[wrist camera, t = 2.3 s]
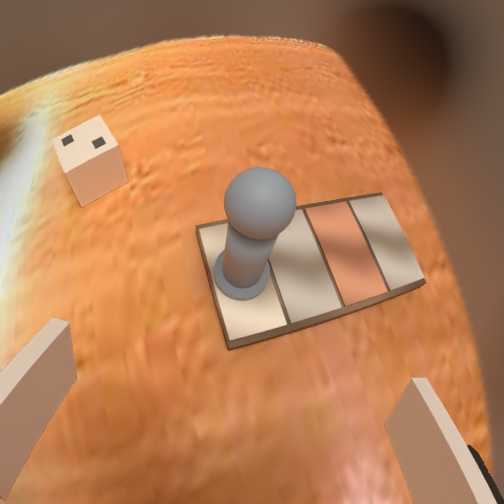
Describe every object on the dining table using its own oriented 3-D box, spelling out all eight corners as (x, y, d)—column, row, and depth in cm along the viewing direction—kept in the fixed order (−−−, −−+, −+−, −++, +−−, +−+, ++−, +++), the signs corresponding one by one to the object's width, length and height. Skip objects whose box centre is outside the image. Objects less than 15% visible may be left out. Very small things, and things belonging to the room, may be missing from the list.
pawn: (208, 256, 29) (211, 154, 17) (258, 245, 30) (291, 144, 18) (221, 306, 27) (234, 227, 15) (274, 293, 28) (323, 210, 16)
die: (67, 173, 33) (51, 138, 28) (109, 151, 35) (99, 114, 30) (82, 207, 31) (64, 172, 26) (128, 181, 34) (118, 143, 28)
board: (196, 232, 32) (195, 224, 30) (376, 198, 37) (382, 190, 36) (228, 350, 27) (229, 347, 26) (419, 287, 32) (427, 282, 31)
